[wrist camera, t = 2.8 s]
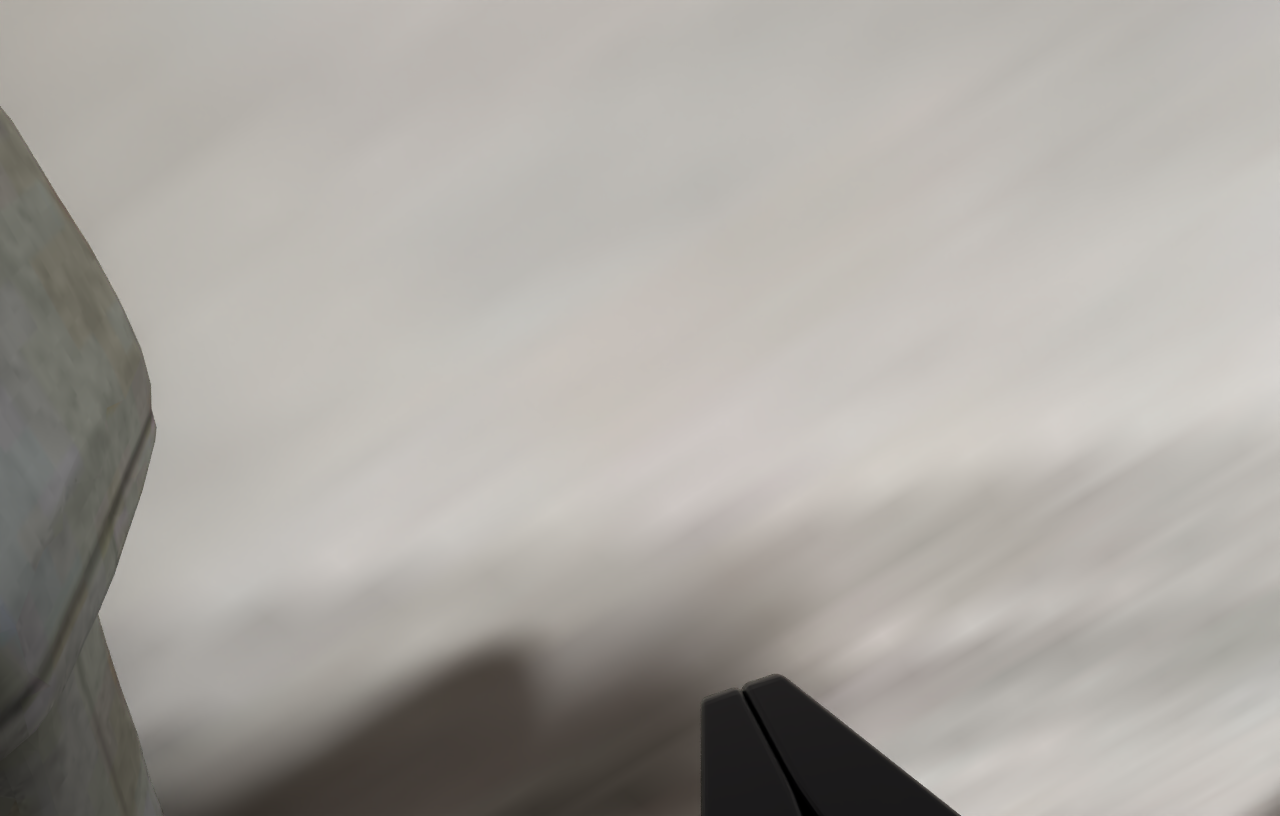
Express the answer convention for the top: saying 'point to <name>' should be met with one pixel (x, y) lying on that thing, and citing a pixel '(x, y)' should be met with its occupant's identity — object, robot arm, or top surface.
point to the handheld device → (63, 507)
